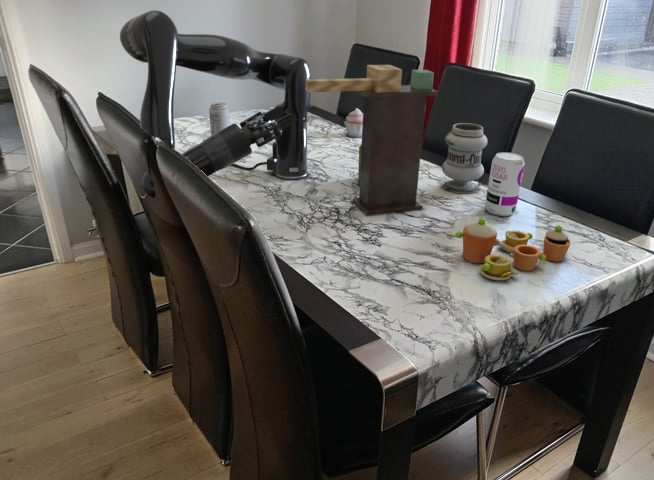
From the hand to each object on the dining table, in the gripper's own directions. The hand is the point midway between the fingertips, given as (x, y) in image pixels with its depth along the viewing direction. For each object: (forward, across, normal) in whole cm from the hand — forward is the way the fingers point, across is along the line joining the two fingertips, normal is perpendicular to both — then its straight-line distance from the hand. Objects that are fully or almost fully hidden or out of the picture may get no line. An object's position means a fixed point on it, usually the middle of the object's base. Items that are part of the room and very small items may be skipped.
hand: (287, 113), depth 132 cm
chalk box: (+18, +17, +36) cm, 44 cm away
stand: (+13, 0, +34) cm, 37 cm away
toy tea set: (+25, -38, +40) cm, 61 cm away
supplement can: (+38, -13, +47) cm, 62 cm away
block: (+33, -1, +10) cm, 34 cm away
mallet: (+16, -1, +2) cm, 16 cm away
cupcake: (+32, +67, +42) cm, 86 cm away
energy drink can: (-15, +59, +20) cm, 64 cm away
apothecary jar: (+38, +6, +46) cm, 60 cm away
